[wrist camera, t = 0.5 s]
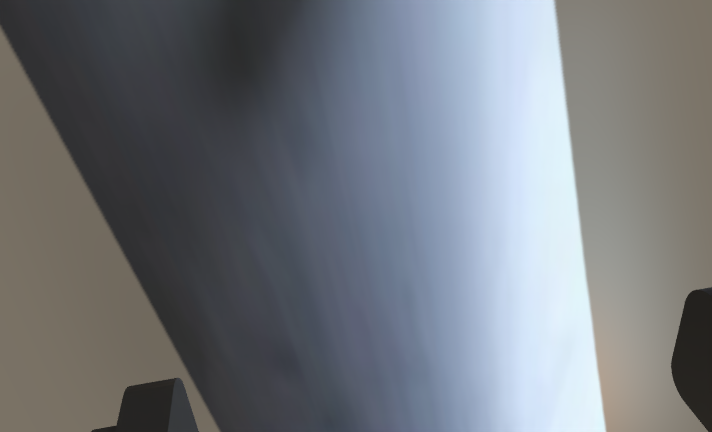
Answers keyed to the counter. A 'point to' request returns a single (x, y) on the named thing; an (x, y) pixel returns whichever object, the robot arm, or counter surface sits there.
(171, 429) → the robot arm
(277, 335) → the counter surface
